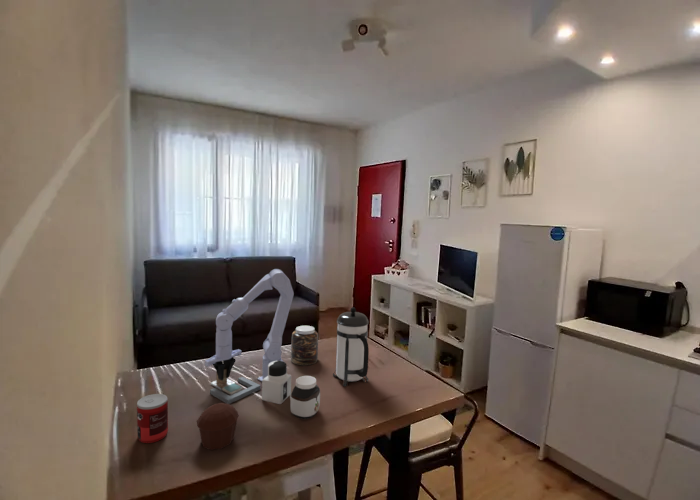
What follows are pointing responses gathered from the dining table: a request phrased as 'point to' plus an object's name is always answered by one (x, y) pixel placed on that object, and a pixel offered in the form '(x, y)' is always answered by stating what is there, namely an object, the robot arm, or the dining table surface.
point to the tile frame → (229, 399)
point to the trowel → (222, 381)
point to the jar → (304, 345)
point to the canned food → (152, 418)
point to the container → (276, 383)
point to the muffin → (217, 425)
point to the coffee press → (352, 347)
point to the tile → (232, 388)
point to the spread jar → (305, 398)
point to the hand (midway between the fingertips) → (223, 378)
